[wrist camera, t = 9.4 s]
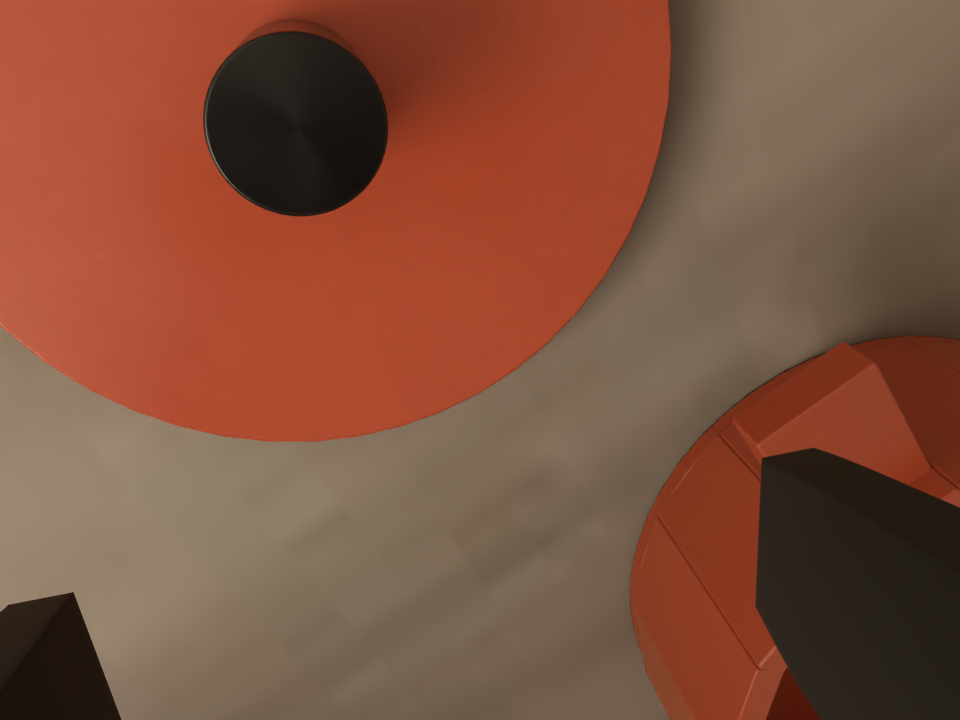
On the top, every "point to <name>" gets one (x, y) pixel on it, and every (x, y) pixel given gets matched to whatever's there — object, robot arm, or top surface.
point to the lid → (316, 196)
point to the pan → (736, 503)
